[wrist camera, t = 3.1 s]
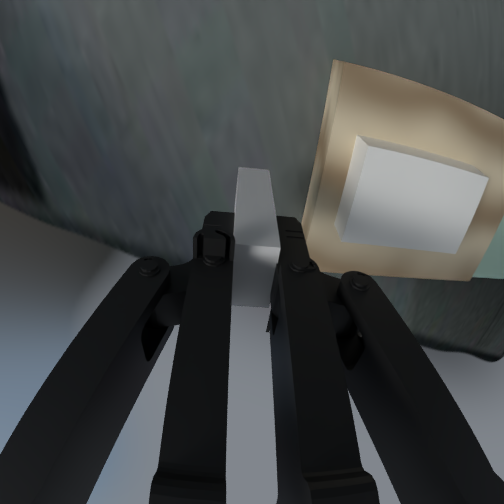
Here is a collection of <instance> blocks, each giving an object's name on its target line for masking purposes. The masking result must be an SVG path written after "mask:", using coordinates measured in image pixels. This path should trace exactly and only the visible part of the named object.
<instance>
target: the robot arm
mask: <svg viewBox="0 0 504 504" xmlns="http://www.w3.org/2000/svg"><path fill="white" fill-rule="evenodd" d="M270 299H271V311H270V316H269V321H268V326H267V330H266V332H269V330H270V344H271V360H272V379H273V398H274V415H275V436H276V457H277V481H278V499H277V503H276V504H380V503H379V496H378V490H377V486H376V482H375V480H374V479H373V477H372V475H371V474H369V473H368V472H366V471H364V469H363V467H362V464H361V460H360V453H359V447H358V442H357V437H356V431H355V425H354V420H353V415H352V409H351V404H350V399H349V394H348V391H349V393H350V395H351V397H352V399H353V401H354V403H355V405H356V407H357V410H358V412H359V414H360V416H361V418H362V420H363V422H364V424H365V426H366V429H367V431H368V433H369V435H370V437H371V439H372V441H373V444H374V445H375V448H376V450H377V452H378V454H379V457H380V458H381V461H382V463H383V465H384V467H385V470H386V472H387V474H388V476H389V478H390V481H391V483H392V485H393V487H394V490H395V491H396V494H397V496H398V498H399V501H400V503H401V504H504V481H503V480H502V479H501V478H500V477H499V476H498V475H497V474H496V473H495V472H494V471H493V469H492V467H491V465H490V463H489V461H488V459H487V457H486V455H485V454H484V452H483V450H482V448H481V446H480V444H479V442H478V440H477V439H476V437H475V435H474V433H473V431H472V429H471V428H470V426H469V424H468V422H467V421H466V419H465V417H464V415H463V414H462V412H461V410H460V408H459V407H458V405H457V403H456V402H455V400H454V399H453V397H452V395H451V393H450V392H449V390H448V389H447V387H446V385H445V383H444V382H443V380H442V379H441V377H440V376H439V374H438V372H437V371H436V369H435V368H434V366H433V364H432V363H431V362H430V360H429V358H428V357H427V355H426V354H425V352H424V351H423V349H422V347H421V346H420V344H419V343H418V341H417V340H416V338H415V337H414V335H413V334H412V333H411V331H410V330H409V328H408V327H407V325H406V324H405V322H404V321H403V319H402V318H401V316H400V315H399V314H398V312H397V311H396V309H395V308H394V307H393V305H392V304H391V302H390V301H389V299H388V298H387V297H386V295H385V294H384V293H383V291H382V290H381V288H380V287H379V286H378V284H377V283H376V282H375V281H374V280H373V279H372V278H371V277H370V276H369V275H367V274H365V273H362V272H359V271H349V272H345V273H344V274H343V275H342V277H341V279H339V278H335V277H332V276H329V275H326V274H324V273H322V272H320V270H319V267H318V265H317V263H316V262H315V261H313V260H312V259H311V258H310V256H309V252H308V248H307V244H306V240H305V236H304V233H303V229H302V225H301V223H300V222H299V221H298V220H297V219H296V218H294V217H284V216H276V212H275V205H274V199H273V192H272V186H271V179H270V173H269V170H264V169H254V168H243V167H239V168H238V179H237V189H236V200H235V211H234V213H230V212H217V211H211V212H210V213H209V214H208V215H206V216H205V219H204V223H203V228H202V229H201V230H199V231H198V232H196V233H195V235H194V237H193V259H192V260H191V261H189V262H187V263H185V264H181V265H176V266H169V264H168V263H167V262H166V261H165V260H164V259H162V258H160V257H154V256H149V257H143V258H140V259H138V260H136V261H135V262H134V263H133V264H131V266H130V267H129V268H128V269H127V271H126V272H125V273H124V274H123V275H122V277H121V278H120V279H119V281H118V282H117V283H116V284H115V286H114V287H113V288H112V289H111V291H110V292H109V293H108V295H107V296H106V297H105V298H104V300H103V301H102V302H101V303H100V305H99V306H98V307H97V309H96V310H95V311H94V313H93V314H92V316H91V317H90V318H89V319H88V321H87V322H86V323H85V325H84V326H83V328H82V329H81V330H80V332H79V333H78V334H77V336H76V337H75V339H74V340H73V341H72V343H71V344H70V345H69V347H68V348H67V350H66V351H65V352H64V354H63V356H62V357H61V359H60V360H59V361H58V363H57V364H56V366H55V367H54V368H53V370H52V372H51V373H50V374H49V376H48V377H47V379H46V380H45V382H44V383H43V385H42V386H41V388H40V389H39V391H38V393H37V394H36V396H35V397H34V399H33V401H32V402H31V403H30V405H29V407H28V408H27V410H26V411H25V413H24V415H23V416H22V418H21V420H20V421H19V423H18V425H17V426H16V428H15V430H14V431H13V433H12V435H11V436H10V438H9V440H8V442H7V443H6V445H5V447H4V449H3V451H2V452H1V454H0V504H86V503H87V501H88V499H89V497H90V494H91V493H92V490H93V488H94V486H95V484H96V482H97V480H98V478H99V475H100V473H101V471H102V469H103V467H104V465H105V463H106V461H107V459H108V457H109V455H110V452H111V450H112V448H113V446H114V444H115V442H116V440H117V438H118V436H119V434H120V432H121V430H122V428H123V426H124V423H125V422H126V420H127V418H128V416H129V414H130V411H131V410H132V408H133V406H134V404H135V402H136V400H137V398H138V396H139V394H140V392H141V390H142V388H143V386H144V384H145V382H146V380H147V378H148V376H149V374H150V373H151V371H152V369H153V367H154V365H155V363H156V361H157V359H158V357H159V355H160V353H161V351H162V350H163V348H164V345H165V344H166V342H167V340H168V338H169V336H170V334H171V332H172V331H173V328H174V325H179V324H180V327H179V332H178V338H177V343H176V349H175V355H174V360H173V366H172V373H171V379H170V385H169V391H168V398H167V404H166V411H165V418H164V425H163V433H162V441H161V448H160V456H159V464H158V468H157V472H156V473H155V475H154V477H153V480H152V483H151V489H150V498H149V504H226V437H227V404H228V375H229V373H228V372H229V349H230V324H231V305H237V306H250V307H265V308H268V307H269V304H270Z"/></svg>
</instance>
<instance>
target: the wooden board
mask: <svg viewBox="0 0 504 504" xmlns="http://www.w3.org/2000/svg"><path fill="white" fill-rule="evenodd" d="M357 135H361V136H366V137H371V138H375V139H380V140H384V141H388V142H393V143H397V144H401V145H405V146H409V147H413V148H417V149H420V150H424V151H428V152H431V153H435V154H438V155H442V156H445V157H448V158H452V159H455V160H458V161H461V162H464V163H467V164H471V165H473V166H474V167H476V168H477V169H478V170H479V171H481V172H482V173H483V174H484V175H486V176H487V177H488V178H489V179H488V182H487V185H486V187H485V190H484V192H483V195H482V197H481V200H480V202H479V204H478V207H477V209H476V212H475V214H474V216H473V218H472V221H471V223H470V225H469V227H468V229H467V232H466V234H465V236H464V238H463V240H462V242H461V244H460V246H459V248H458V250H457V252H456V254H450V253H442V252H433V251H424V250H415V249H406V248H397V247H387V246H378V245H368V244H358V243H348V242H341V240H340V237H339V235H338V232H337V230H336V227H335V225H334V223H335V219H336V215H337V212H338V208H339V204H340V201H341V197H342V193H343V189H344V186H345V182H346V178H347V174H348V170H349V166H350V162H351V158H352V153H353V149H354V145H355V141H356V136H357ZM503 216H504V119H502V118H500V117H498V116H496V115H494V114H492V113H490V112H488V111H486V110H484V109H481V108H479V107H477V106H475V105H473V104H470V103H468V102H466V101H464V100H461V99H459V98H457V97H454V96H452V95H449V94H447V93H444V92H442V91H439V90H436V89H434V88H431V87H428V86H426V85H423V84H420V83H417V82H414V81H411V80H408V79H405V78H402V77H399V76H396V75H392V74H389V73H386V72H382V71H379V70H375V69H371V68H368V67H364V66H360V65H356V64H352V63H347V62H343V61H338V60H334V59H333V64H332V70H331V76H330V82H329V87H328V93H327V99H326V104H325V110H324V115H323V120H322V126H321V131H320V136H319V141H318V147H317V152H316V157H315V162H314V167H313V171H312V176H311V181H310V186H309V191H308V195H307V200H306V205H305V209H304V214H303V218H302V223H301V225H302V229H303V233H304V236H305V240H306V244H307V248H308V252H309V256H310V258H311V259H312V260H313V261H315V262H316V263H317V265H318V267H319V270H320V272H333V273H345V272H349V271H359V272H362V273H365V274H367V275H376V276H391V277H407V278H423V279H440V280H457V281H470V279H471V278H472V276H473V274H474V272H475V271H476V269H477V267H478V265H479V264H480V262H481V260H482V258H483V256H484V254H485V252H486V250H487V249H488V247H489V245H490V243H491V241H492V239H493V237H494V235H495V233H496V231H497V228H498V226H499V224H500V222H501V220H502V218H503Z"/></svg>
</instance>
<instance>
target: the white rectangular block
mask: <svg viewBox="0 0 504 504" xmlns="http://www.w3.org/2000/svg"><path fill="white" fill-rule="evenodd" d="M488 179H489V178H488V177H487V176H486V175H484V174H483V173H482V172H481V171H479V170H478V169H477V168H476V167H474V166H473V165H471V164H467V163H464V162H461V161H458V160H455V159H452V158H448V157H445V156H442V155H438V154H435V153H431V152H428V151H424V150H420V149H417V148H413V147H409V146H405V145H401V144H397V143H393V142H388V141H384V140H380V139H375V138H371V137H366V136H361V135H357V136H356V141H355V145H354V149H353V153H352V158H351V162H350V166H349V170H348V174H347V178H346V182H345V186H344V189H343V193H342V197H341V201H340V204H339V208H338V212H337V215H336V219H335V223H334V225H335V227H336V230H337V232H338V235H339V237H340V240H341V242H348V243H358V244H368V245H378V246H387V247H397V248H406V249H415V250H424V251H433V252H442V253H450V254H456V252H457V250H458V248H459V246H460V244H461V242H462V240H463V238H464V236H465V234H466V232H467V229H468V227H469V225H470V223H471V221H472V218H473V216H474V214H475V212H476V209H477V207H478V204H479V202H480V200H481V197H482V195H483V192H484V190H485V187H486V185H487V182H488Z"/></svg>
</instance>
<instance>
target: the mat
mask: <svg viewBox="0 0 504 504" xmlns="http://www.w3.org/2000/svg"><path fill="white" fill-rule="evenodd" d="M472 277H480V278H496V279H504V216H503V218H502V220H501V222H500V224H499V226H498V228H497V231H496V233H495V235H494V237H493V239H492V241H491V243H490V245H489V247H488V249H487V250H486V252H485V254H484V256H483V258H482V260H481V262H480V264H479V265H478V267H477V269H476V271H475V272H474V274H473V276H472Z"/></svg>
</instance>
